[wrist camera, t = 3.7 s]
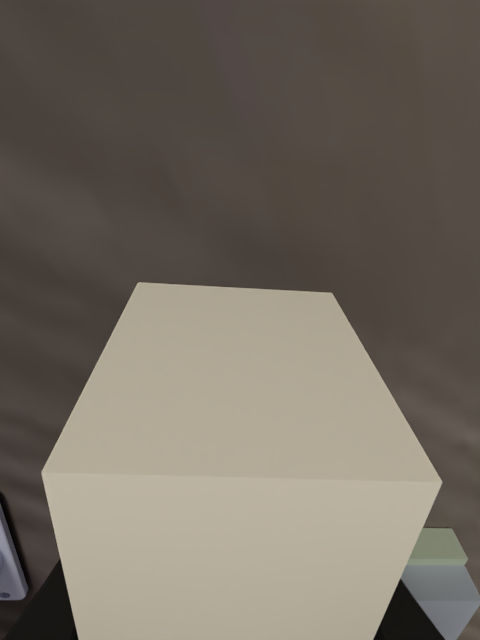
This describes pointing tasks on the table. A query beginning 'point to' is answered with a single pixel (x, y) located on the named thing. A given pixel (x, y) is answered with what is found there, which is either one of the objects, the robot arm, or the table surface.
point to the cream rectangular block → (235, 474)
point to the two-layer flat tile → (441, 581)
